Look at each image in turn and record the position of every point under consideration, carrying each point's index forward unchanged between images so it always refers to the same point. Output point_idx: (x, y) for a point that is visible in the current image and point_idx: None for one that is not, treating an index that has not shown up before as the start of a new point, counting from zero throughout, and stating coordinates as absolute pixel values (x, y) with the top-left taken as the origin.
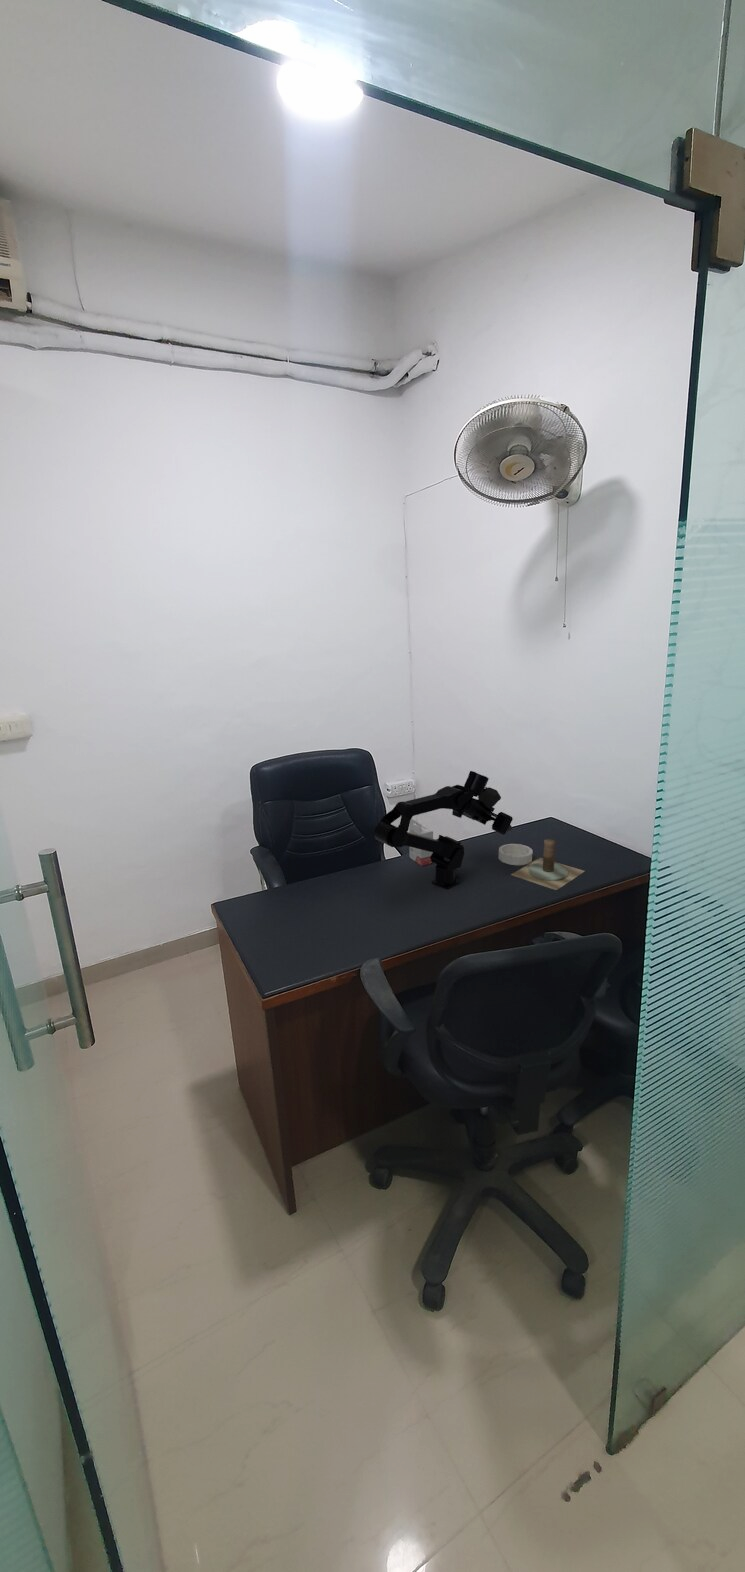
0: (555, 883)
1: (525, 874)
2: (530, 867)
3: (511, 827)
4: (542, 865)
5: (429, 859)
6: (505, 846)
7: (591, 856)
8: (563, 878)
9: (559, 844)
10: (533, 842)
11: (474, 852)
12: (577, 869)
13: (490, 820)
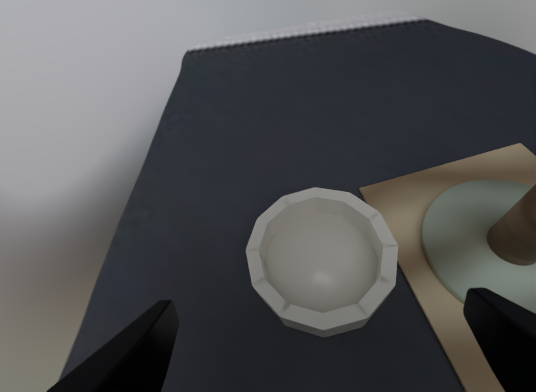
0: None
1: None
2: (463, 289)
3: (504, 305)
4: (458, 233)
5: None
6: (259, 255)
7: (409, 84)
8: None
9: (301, 102)
10: (250, 142)
11: None
12: (501, 152)
13: (177, 329)
